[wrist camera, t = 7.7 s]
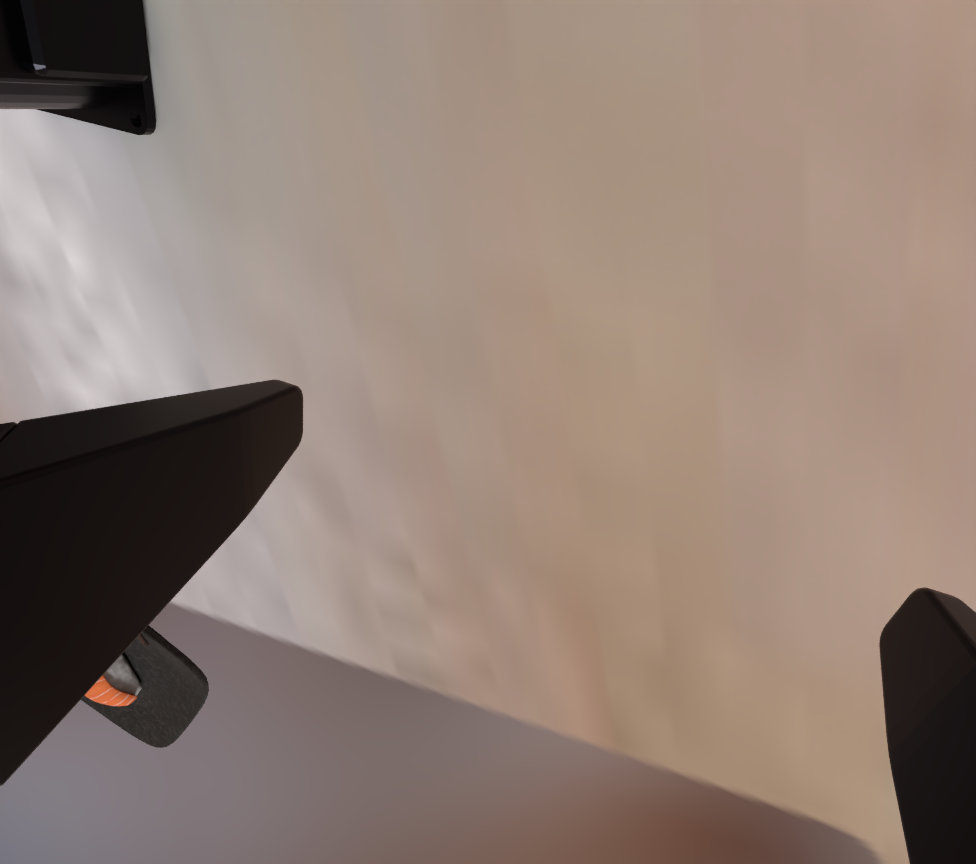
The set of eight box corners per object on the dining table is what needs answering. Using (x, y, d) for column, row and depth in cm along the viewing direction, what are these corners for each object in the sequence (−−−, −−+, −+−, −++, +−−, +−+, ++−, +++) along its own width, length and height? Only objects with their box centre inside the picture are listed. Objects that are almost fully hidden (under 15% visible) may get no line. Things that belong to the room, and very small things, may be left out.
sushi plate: (-124, 517, 45) (-187, 548, 42) (-139, 184, 29) (-243, 193, 26) (180, 736, 47) (143, 782, 44) (330, 542, 31) (288, 593, 28)
